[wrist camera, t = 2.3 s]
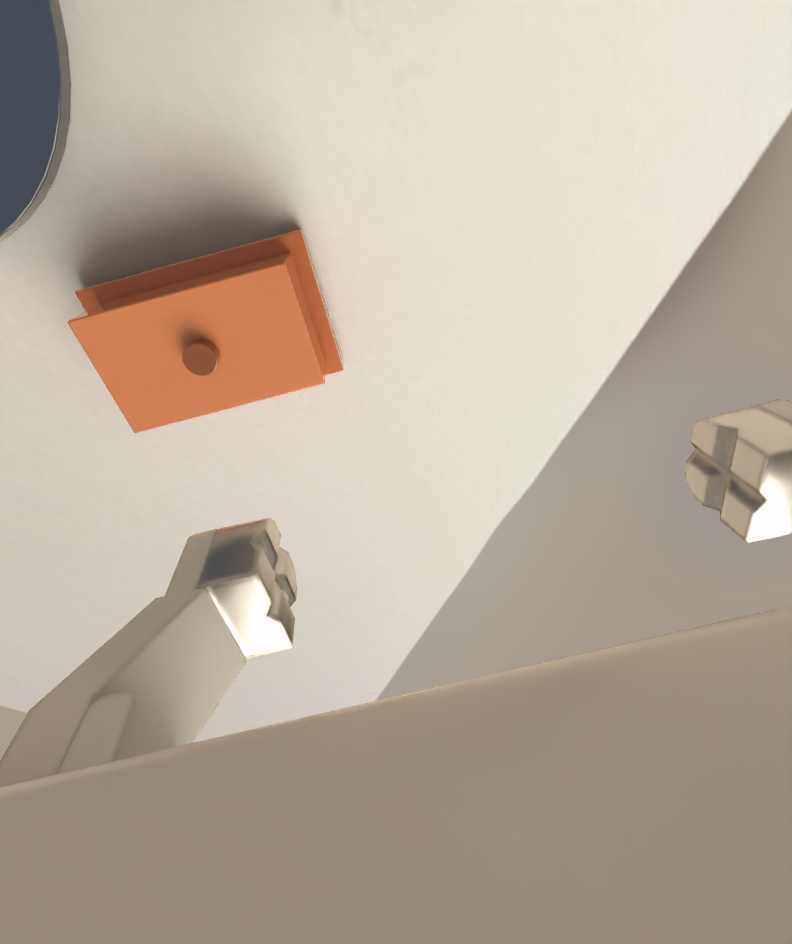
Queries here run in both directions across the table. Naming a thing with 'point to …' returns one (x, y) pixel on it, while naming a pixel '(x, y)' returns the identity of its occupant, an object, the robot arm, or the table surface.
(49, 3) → the plate
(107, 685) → the robot arm
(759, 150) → the table surface
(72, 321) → the butter dish
